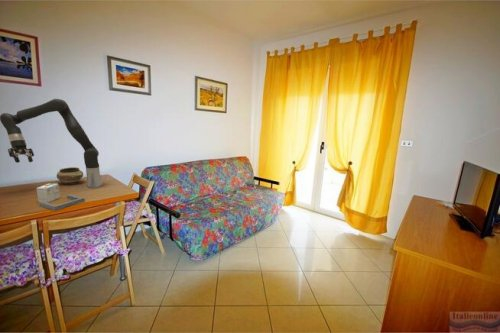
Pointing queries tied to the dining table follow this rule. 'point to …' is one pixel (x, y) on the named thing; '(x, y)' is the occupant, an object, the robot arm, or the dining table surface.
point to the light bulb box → (48, 192)
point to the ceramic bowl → (70, 175)
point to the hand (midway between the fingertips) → (24, 162)
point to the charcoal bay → (63, 205)
